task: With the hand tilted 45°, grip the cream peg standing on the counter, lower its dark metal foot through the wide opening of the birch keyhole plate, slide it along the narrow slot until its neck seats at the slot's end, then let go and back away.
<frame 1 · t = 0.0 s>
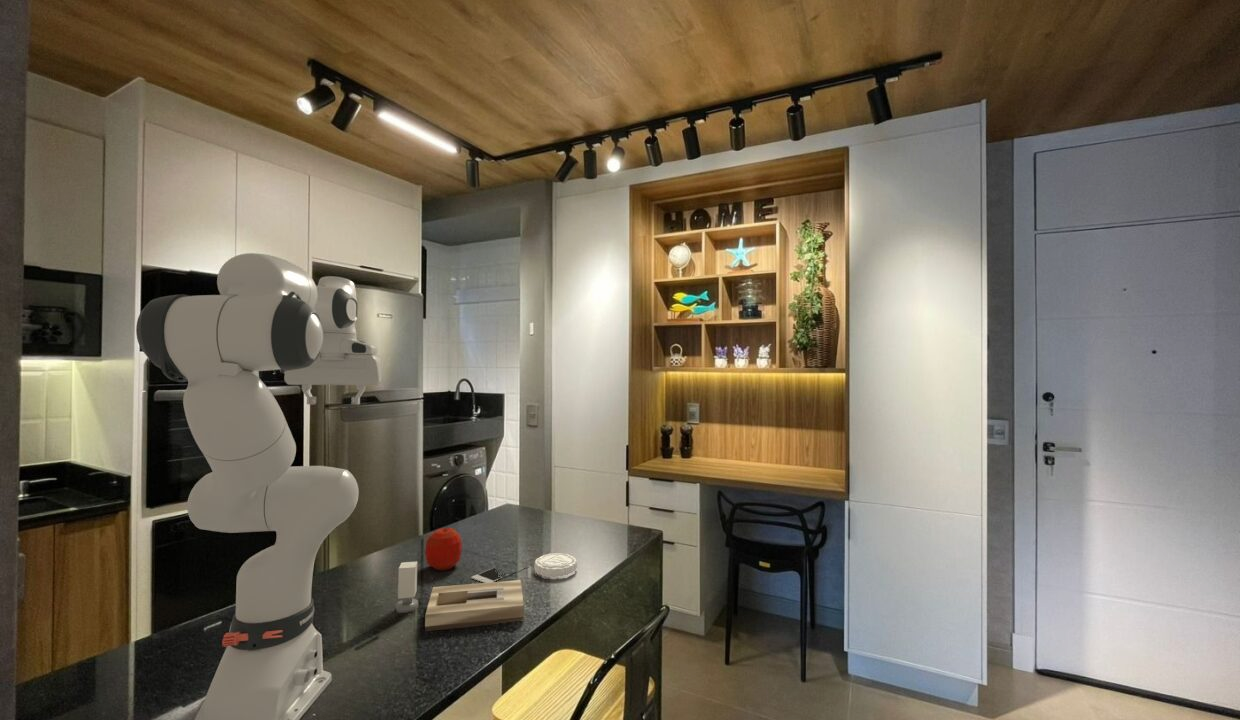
hand: (333, 404, 119), 48 cm above the countertop, tool pointing down, fingers open, 8 cm apart
apple: (443, 567, 144), on the countertop
cream peg: (407, 608, 119), on the countertop
container lid: (555, 572, 143), on the countertop
keyhole plate: (476, 611, 118), on the countertop
smartphone: (501, 574, 141), on the countertop
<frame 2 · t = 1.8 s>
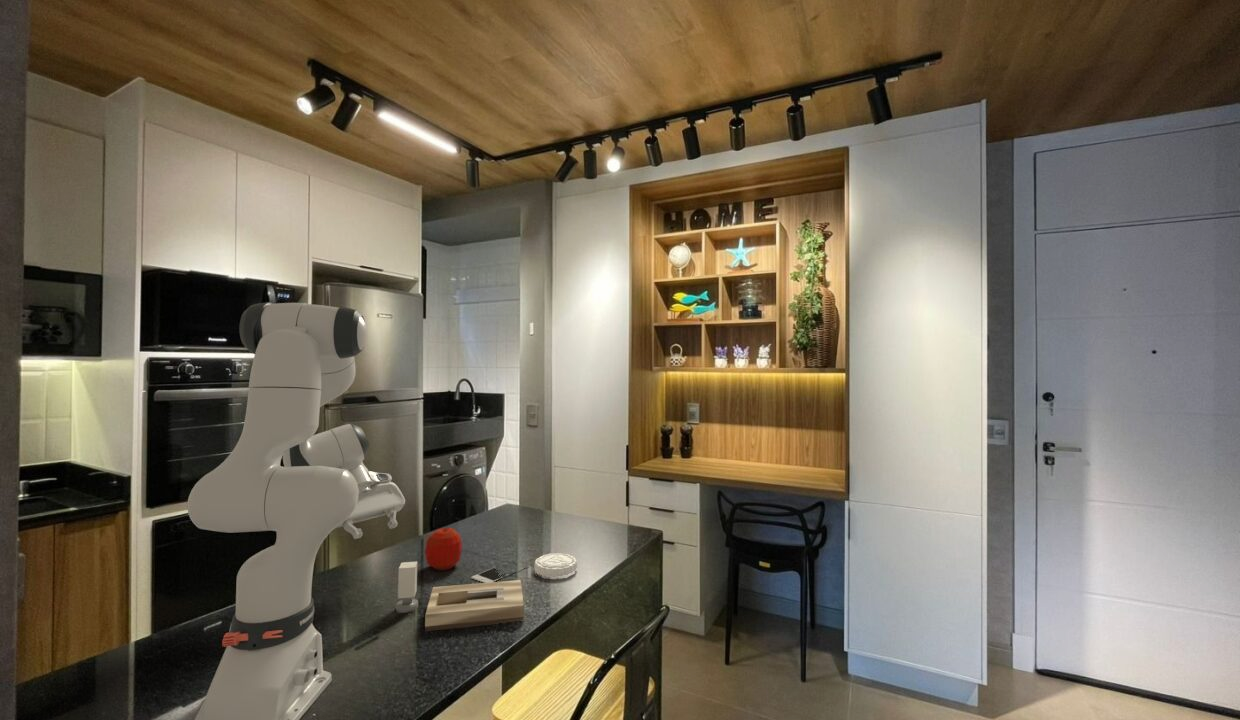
hand: (377, 531, 126), 16 cm above the countertop, tool tilted 45°, fingers open, 8 cm apart
nothing on the countertop moved.
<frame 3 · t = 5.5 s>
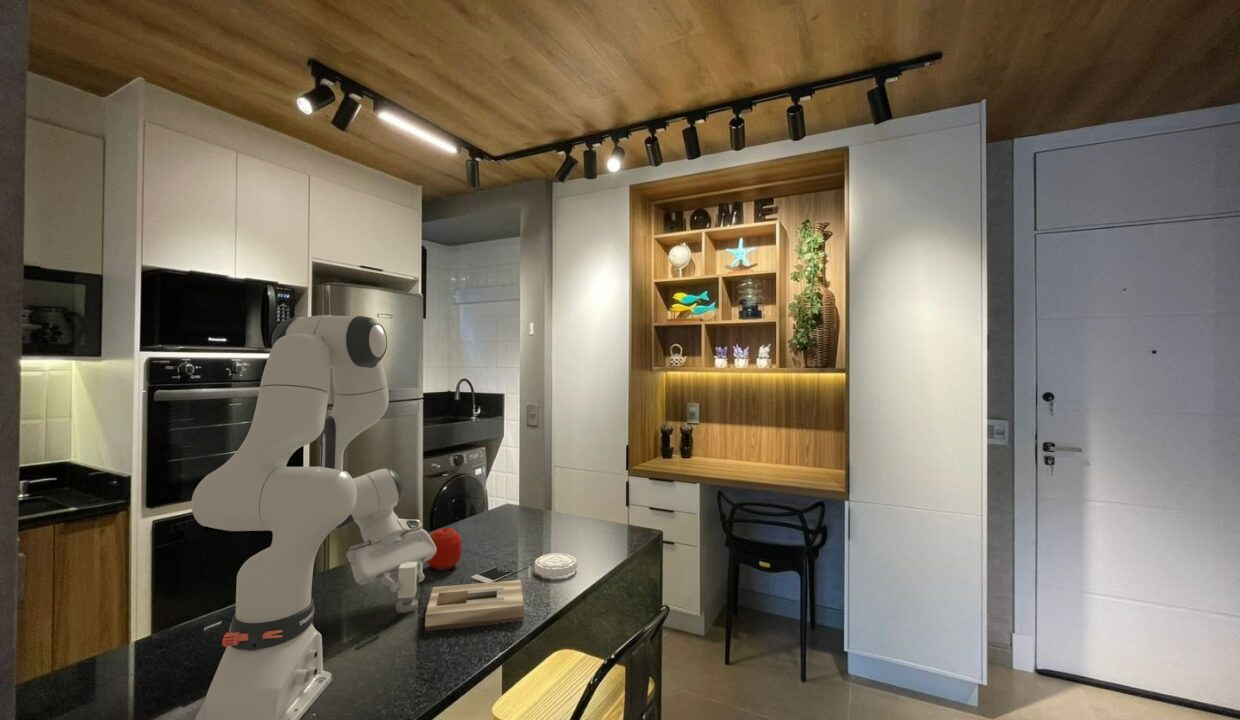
hand: (409, 585, 119), 5 cm above the countertop, tool tilted 45°, fingers closed on cream peg, 5 cm apart
cream peg: (407, 608, 119), on the countertop, touching gripper
everything else where it was.
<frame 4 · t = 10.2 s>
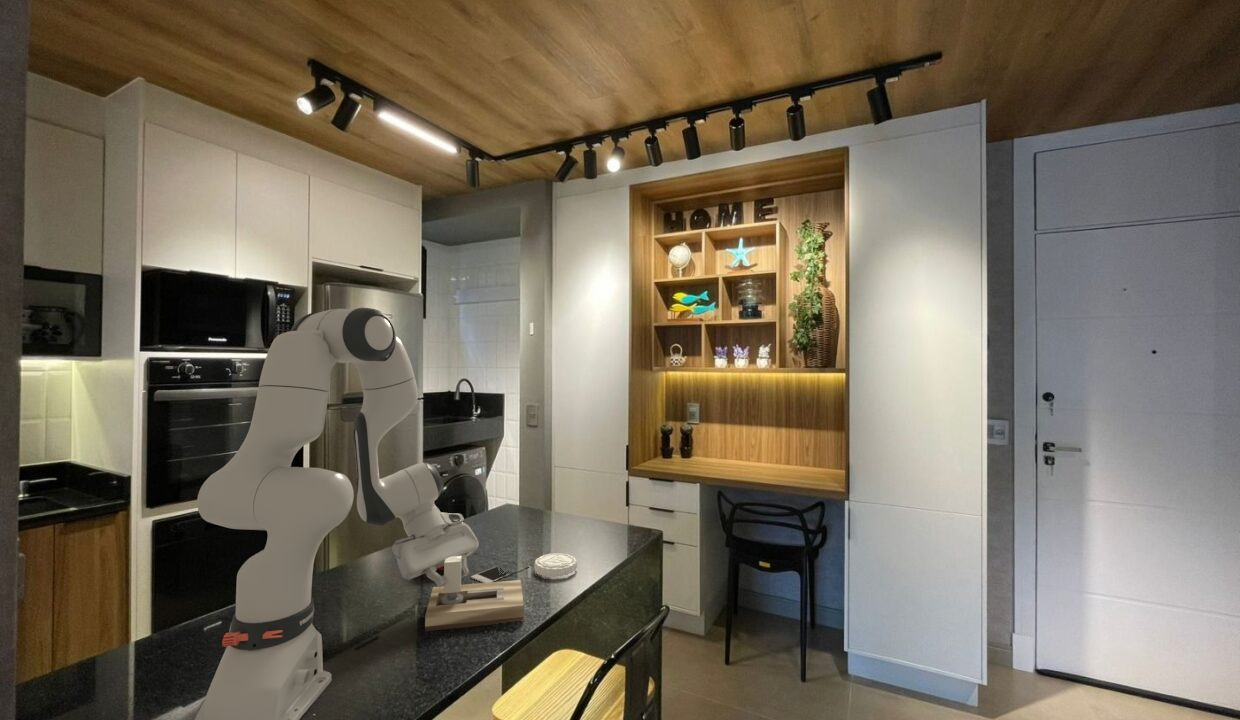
hand: (454, 580, 117), 8 cm above the countertop, tool tilted 45°, fingers closed on cream peg, 5 cm apart
cream peg: (452, 603, 117), point 2 cm above the countertop, touching gripper
everything else where it was.
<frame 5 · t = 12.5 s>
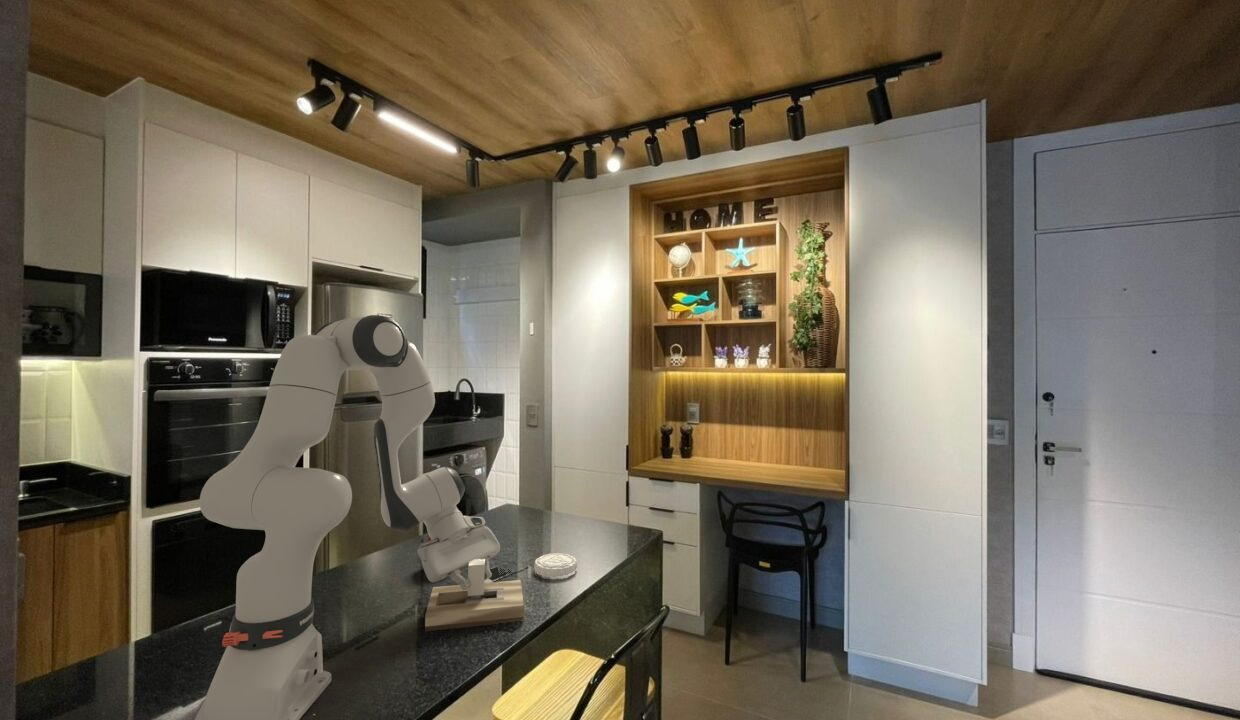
hand: (478, 582, 118), 7 cm above the countertop, tool tilted 45°, fingers closed on cream peg, 5 cm apart
cream peg: (475, 605, 119), point 1 cm above the countertop, touching gripper
everything else where it was.
when the fingers open (7 cm above the countertop, at t = 14.8 s): cream peg stays where it is, resting on keyhole plate.
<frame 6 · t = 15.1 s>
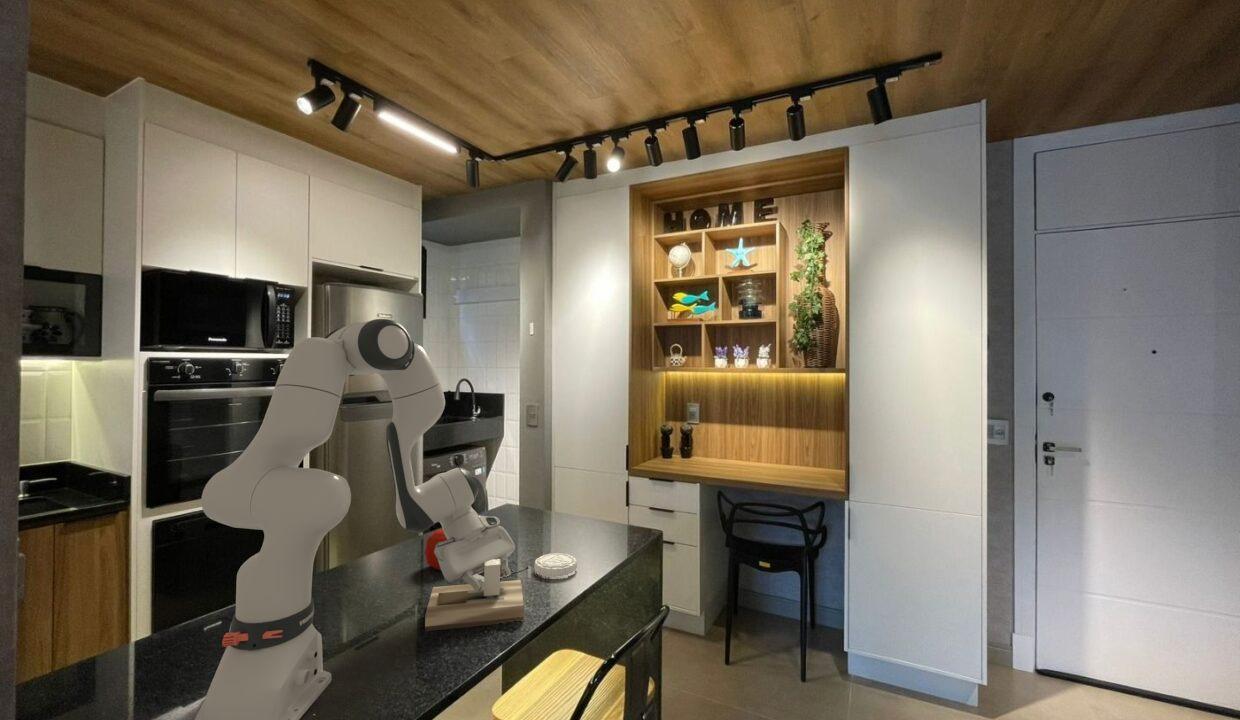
hand: (494, 582, 119), 7 cm above the countertop, tool tilted 45°, fingers open, 8 cm apart
cream peg: (491, 605, 119), point 1 cm above the countertop, touching keyhole plate
everything else where it was.
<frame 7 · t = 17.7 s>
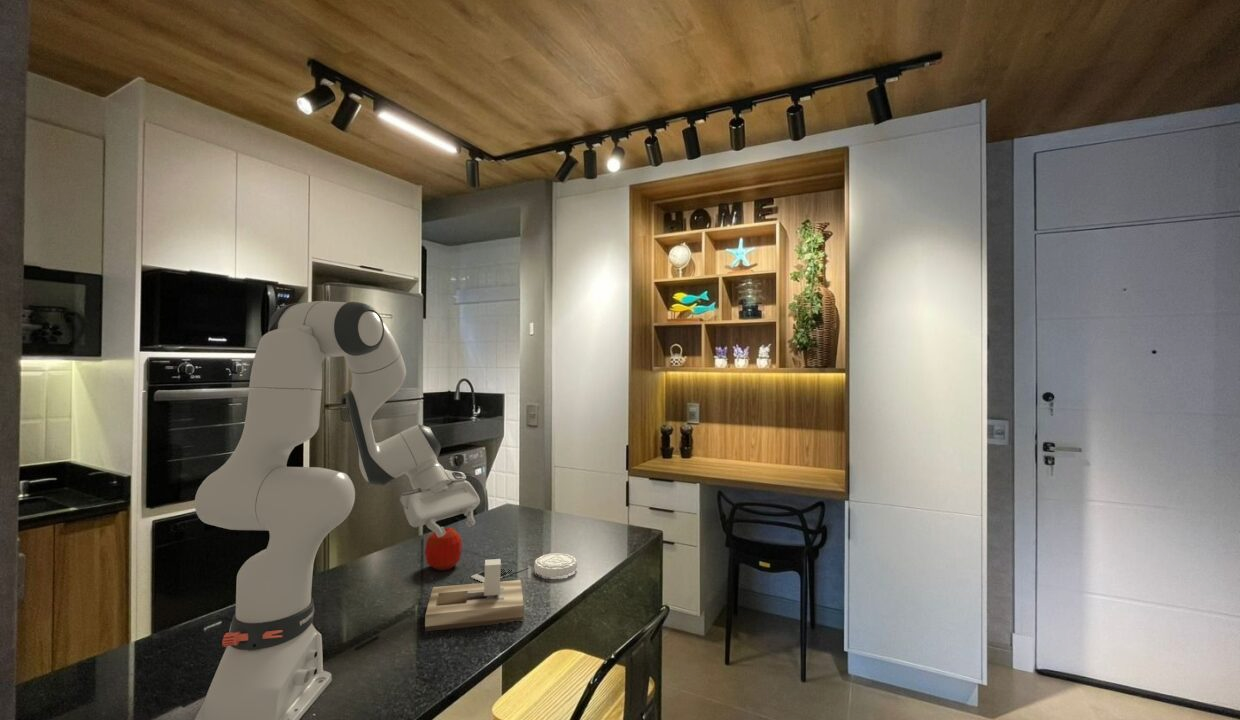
hand: (457, 530, 126), 17 cm above the countertop, tool tilted 45°, fingers open, 8 cm apart
nothing on the countertop moved.
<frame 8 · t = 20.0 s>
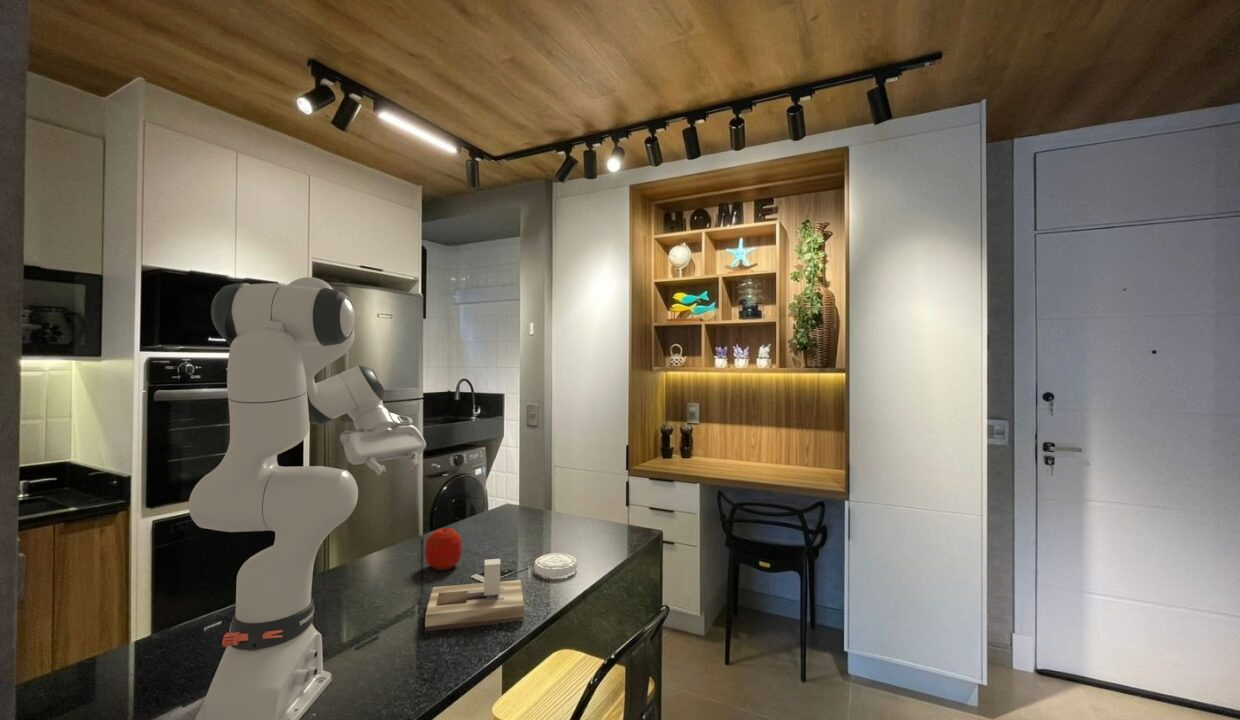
hand: (399, 470, 125), 31 cm above the countertop, tool tilted 45°, fingers open, 8 cm apart
nothing on the countertop moved.
at the end: cream peg 0.1 cm from the target spot on the keyhole plate, point 1.0 cm above the keyhole plate's base; cream peg tilted 1°; the gripper is holding nothing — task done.
